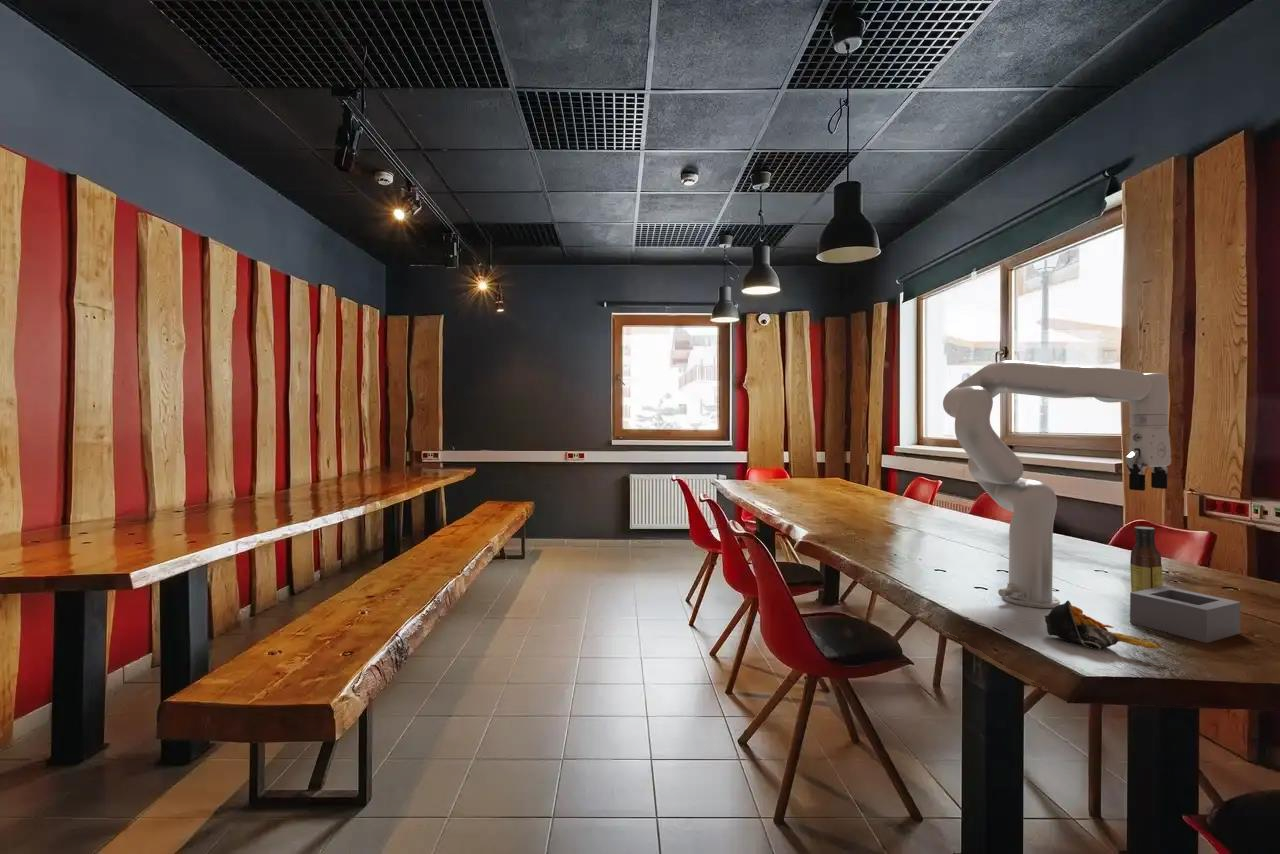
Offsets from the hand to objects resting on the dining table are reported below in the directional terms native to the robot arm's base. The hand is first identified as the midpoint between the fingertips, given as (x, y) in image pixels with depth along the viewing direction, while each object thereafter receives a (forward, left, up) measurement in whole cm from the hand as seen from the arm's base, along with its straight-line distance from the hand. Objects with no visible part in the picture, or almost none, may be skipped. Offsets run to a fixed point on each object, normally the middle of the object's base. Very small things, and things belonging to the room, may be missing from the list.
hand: (1148, 489), depth 152 cm
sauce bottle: (0, 0, -30) cm, 30 cm away
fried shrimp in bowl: (-43, -12, -30) cm, 54 cm away
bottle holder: (-12, -13, -30) cm, 35 cm away
